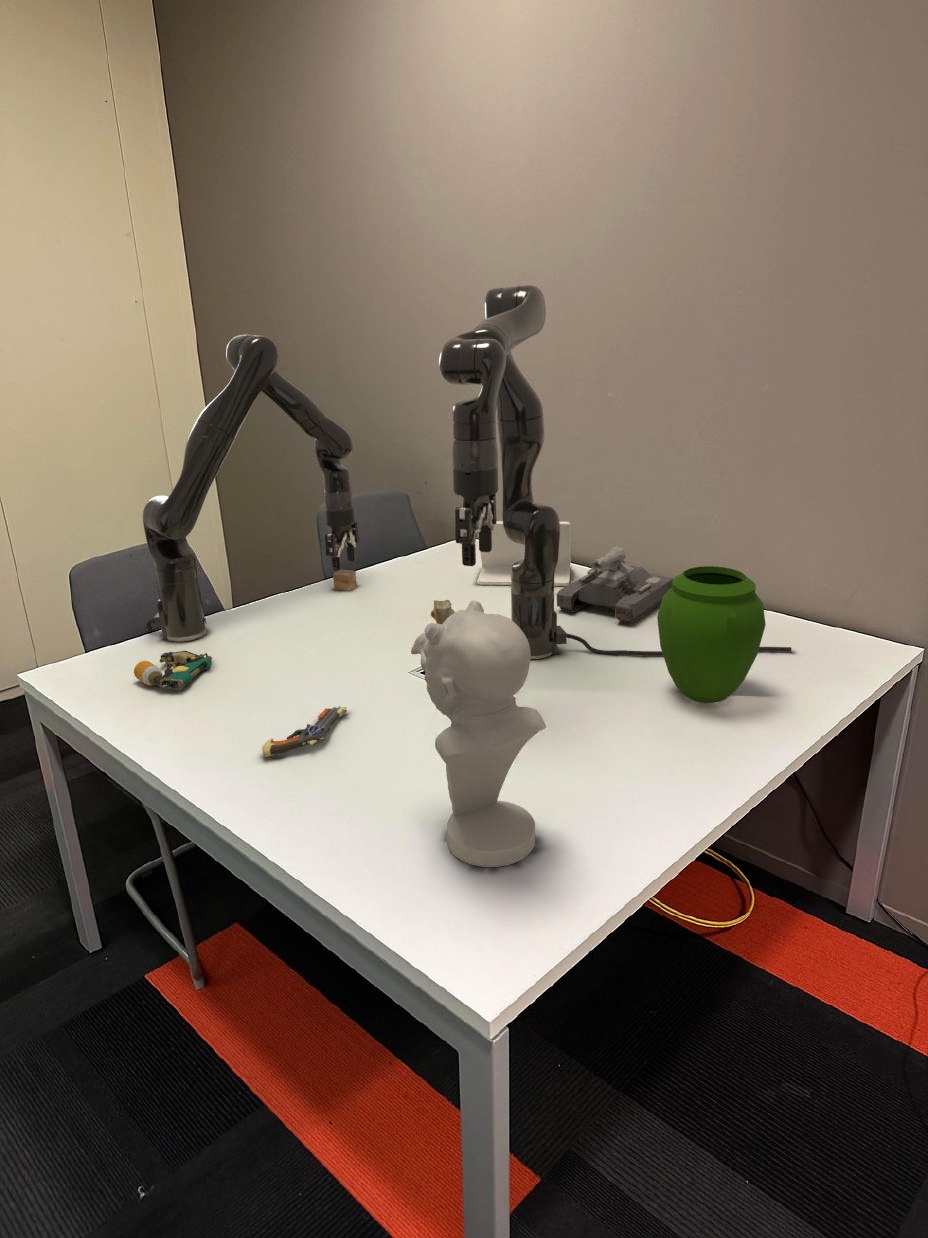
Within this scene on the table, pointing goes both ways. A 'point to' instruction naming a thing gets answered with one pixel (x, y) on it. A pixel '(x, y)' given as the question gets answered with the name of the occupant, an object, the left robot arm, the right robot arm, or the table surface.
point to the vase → (710, 631)
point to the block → (344, 580)
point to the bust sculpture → (481, 729)
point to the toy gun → (305, 733)
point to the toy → (615, 588)
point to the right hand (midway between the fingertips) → (477, 558)
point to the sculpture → (441, 611)
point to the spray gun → (172, 669)
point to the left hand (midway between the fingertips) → (344, 565)
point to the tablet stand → (519, 558)
